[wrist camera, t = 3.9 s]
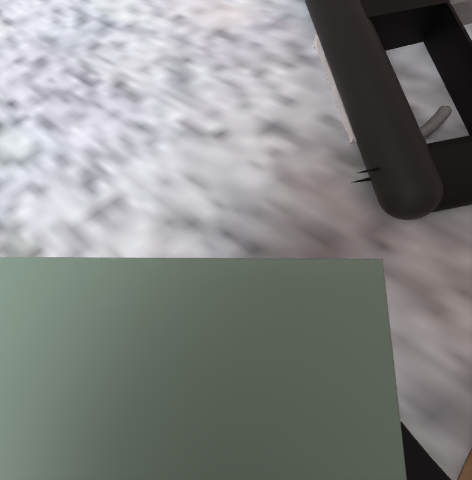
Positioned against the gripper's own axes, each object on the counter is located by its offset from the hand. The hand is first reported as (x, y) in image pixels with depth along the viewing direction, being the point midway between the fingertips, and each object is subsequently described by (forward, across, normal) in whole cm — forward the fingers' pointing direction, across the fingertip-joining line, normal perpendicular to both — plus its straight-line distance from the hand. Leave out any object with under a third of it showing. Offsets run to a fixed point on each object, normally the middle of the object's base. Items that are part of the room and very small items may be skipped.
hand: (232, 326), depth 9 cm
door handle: (+17, -12, -6) cm, 22 cm away
